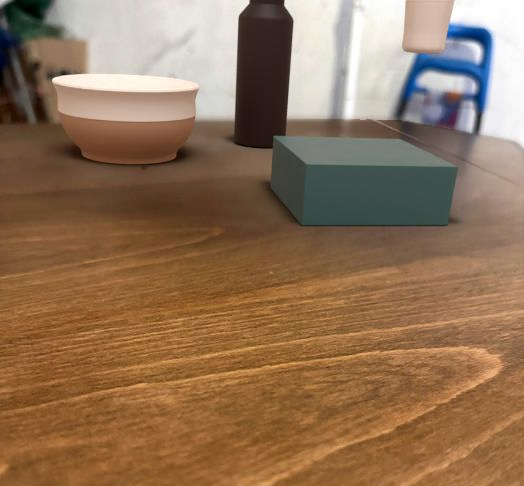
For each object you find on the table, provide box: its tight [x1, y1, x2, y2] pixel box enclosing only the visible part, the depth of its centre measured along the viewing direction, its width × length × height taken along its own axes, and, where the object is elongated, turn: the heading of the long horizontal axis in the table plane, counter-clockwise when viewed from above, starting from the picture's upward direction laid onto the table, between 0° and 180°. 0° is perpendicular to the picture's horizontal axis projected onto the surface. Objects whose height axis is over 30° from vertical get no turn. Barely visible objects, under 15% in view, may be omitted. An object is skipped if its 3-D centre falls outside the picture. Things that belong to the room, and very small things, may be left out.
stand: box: [269, 135, 459, 226], centre depth 61 cm, size 13×13×5 cm
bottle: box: [233, 0, 295, 149], centre depth 84 cm, size 7×7×20 cm
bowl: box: [51, 73, 201, 165], centre depth 75 cm, size 16×16×8 cm
